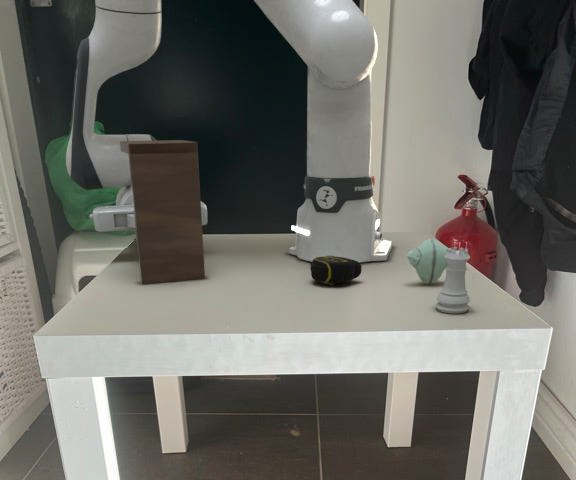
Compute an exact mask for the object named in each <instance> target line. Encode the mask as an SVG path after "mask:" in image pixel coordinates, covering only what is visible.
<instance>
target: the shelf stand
mask: <svg viewBox="0 0 576 480" xmlns="http://www.w3.org/2000/svg"><path fill="white" fill-rule="evenodd" d="M120 148H121V151H122V152H124V153H127V154H128V155H129V165H130V176H131V186H132V196H133V207H134V217H135V227H136V234H135V237H136V247H137V257H138V258H137V259H138V268H139V278H140V283H141V285H150V284H161V283H173V282H183V281H192V280H193V281H194V280H195V281H196V280H205V279H206V272H205V271H206V270H205V255H204V237H203V235H204V233H203V226H202V217H201V202H202V200H201V186H200V185H201V183H200V168H199V167H200V166H199V148H198V142H197V141H192V140H184V139H172V140H171V139H170V140H168V139H167V140H166V139H165V140H164V139H163V140H157V141H120Z"/></svg>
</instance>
